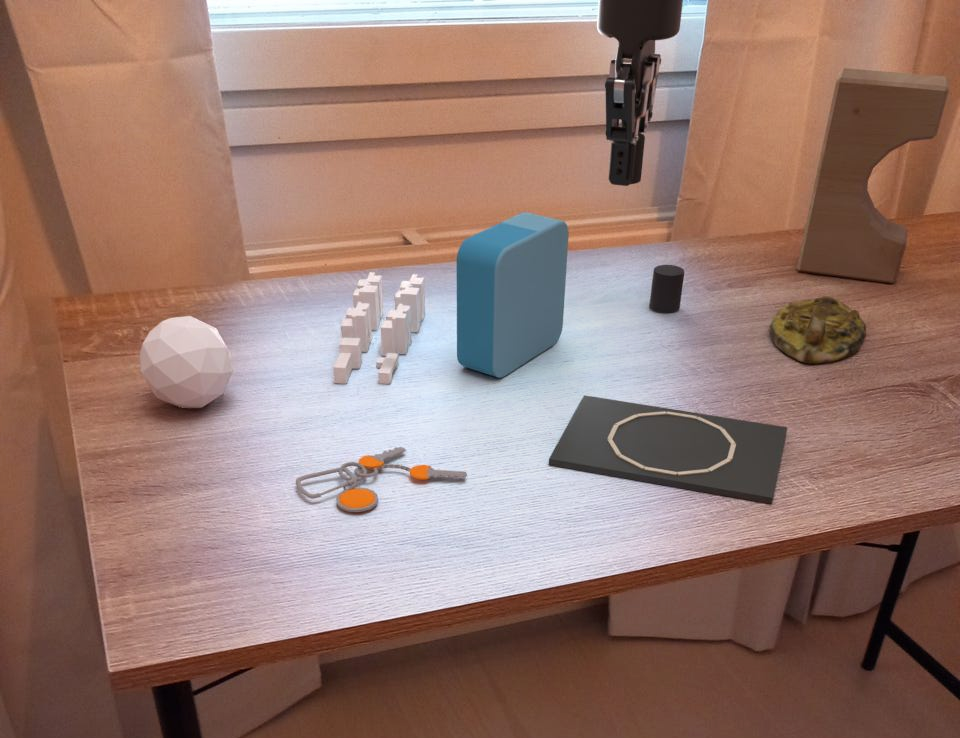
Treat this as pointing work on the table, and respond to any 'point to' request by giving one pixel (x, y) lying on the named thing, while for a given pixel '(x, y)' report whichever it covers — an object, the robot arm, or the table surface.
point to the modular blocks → (367, 319)
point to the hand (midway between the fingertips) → (624, 177)
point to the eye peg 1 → (636, 159)
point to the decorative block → (865, 171)
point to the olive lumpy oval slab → (818, 330)
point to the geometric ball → (185, 362)
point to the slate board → (673, 448)
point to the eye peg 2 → (666, 288)
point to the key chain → (365, 497)
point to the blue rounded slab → (510, 292)
